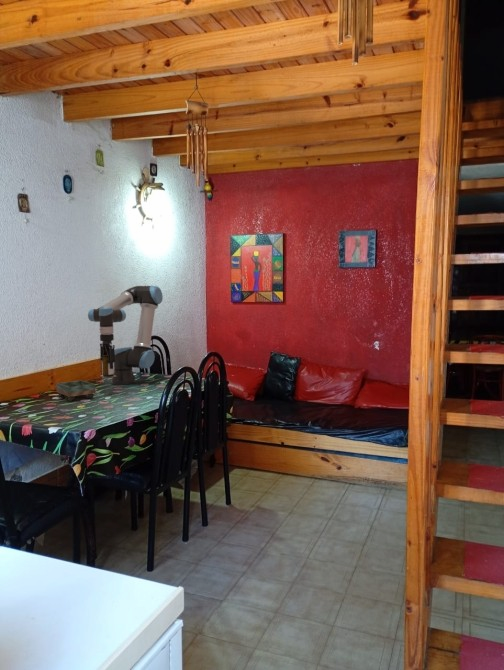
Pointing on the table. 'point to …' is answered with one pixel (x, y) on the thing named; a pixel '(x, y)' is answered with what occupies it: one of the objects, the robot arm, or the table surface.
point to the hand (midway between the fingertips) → (108, 373)
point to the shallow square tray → (75, 389)
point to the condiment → (106, 367)
